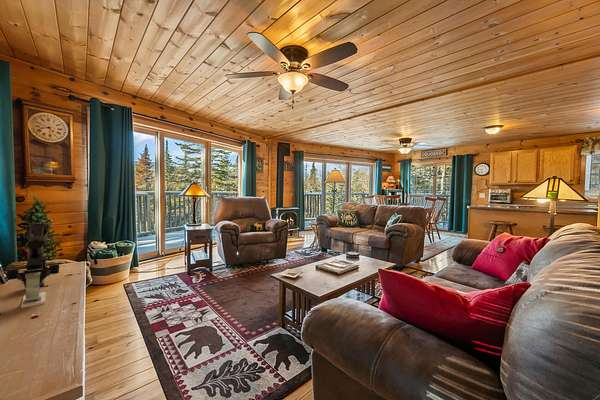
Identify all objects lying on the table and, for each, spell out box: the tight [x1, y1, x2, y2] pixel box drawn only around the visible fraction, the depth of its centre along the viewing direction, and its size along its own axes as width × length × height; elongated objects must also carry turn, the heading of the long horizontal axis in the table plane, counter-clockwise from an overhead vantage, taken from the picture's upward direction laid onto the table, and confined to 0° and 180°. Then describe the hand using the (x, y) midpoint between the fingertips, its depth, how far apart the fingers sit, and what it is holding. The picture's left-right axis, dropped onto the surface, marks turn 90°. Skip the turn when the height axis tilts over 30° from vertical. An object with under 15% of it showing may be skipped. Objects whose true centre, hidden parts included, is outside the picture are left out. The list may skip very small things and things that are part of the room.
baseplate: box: [20, 291, 47, 309], centre depth 128 cm, size 16×8×1 cm, turn 45°
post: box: [25, 272, 41, 301], centre depth 125 cm, size 4×4×12 cm
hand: (32, 286), depth 124 cm, fingers closed on post, 4 cm apart
